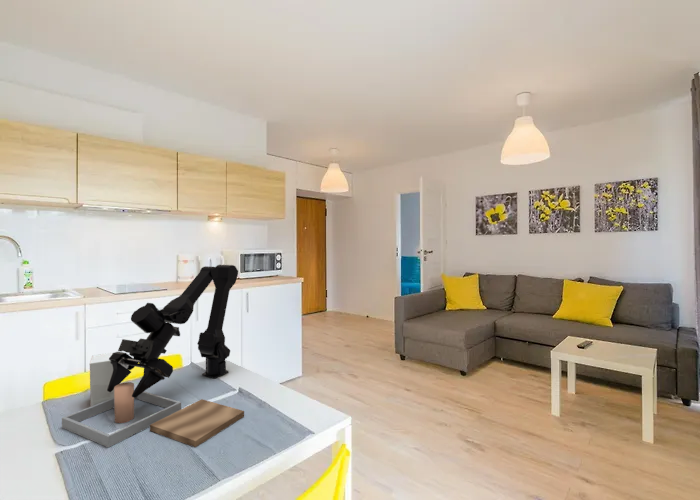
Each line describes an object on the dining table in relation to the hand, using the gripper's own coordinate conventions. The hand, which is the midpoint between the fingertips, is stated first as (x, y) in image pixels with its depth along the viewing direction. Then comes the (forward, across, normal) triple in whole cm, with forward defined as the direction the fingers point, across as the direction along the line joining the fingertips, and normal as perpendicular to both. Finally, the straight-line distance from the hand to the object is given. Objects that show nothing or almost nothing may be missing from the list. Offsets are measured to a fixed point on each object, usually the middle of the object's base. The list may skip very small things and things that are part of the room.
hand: (120, 394), depth 93 cm
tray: (+4, 0, +6) cm, 7 cm away
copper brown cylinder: (+4, 0, +6) cm, 7 cm away
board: (0, +20, +10) cm, 22 cm away
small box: (+1, -16, +10) cm, 18 cm away
